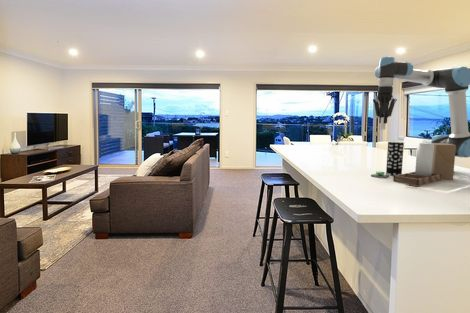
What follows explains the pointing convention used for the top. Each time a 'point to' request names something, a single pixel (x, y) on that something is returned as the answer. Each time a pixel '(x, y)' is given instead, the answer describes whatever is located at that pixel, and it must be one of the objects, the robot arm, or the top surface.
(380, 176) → the button housing
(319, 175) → the top surface
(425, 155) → the seated billet
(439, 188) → the top surface
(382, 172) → the button
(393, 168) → the spotted tube
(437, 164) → the wooden block
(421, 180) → the divided wooden tray
